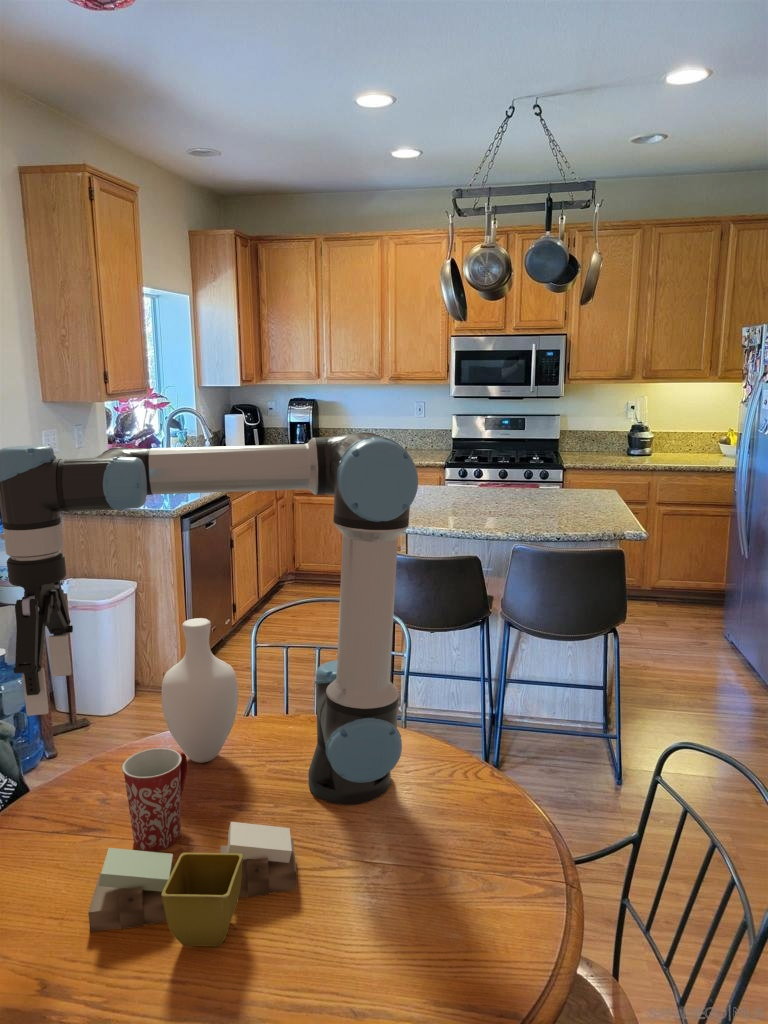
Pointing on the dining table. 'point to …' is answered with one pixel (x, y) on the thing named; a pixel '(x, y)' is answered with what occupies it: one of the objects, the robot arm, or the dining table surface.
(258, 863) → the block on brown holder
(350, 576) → the robot arm
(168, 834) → the mug
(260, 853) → the block
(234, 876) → the flower pot
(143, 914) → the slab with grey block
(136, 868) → the rocker green
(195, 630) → the vase
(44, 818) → the dining table surface
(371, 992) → the dining table surface
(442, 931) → the dining table surface
